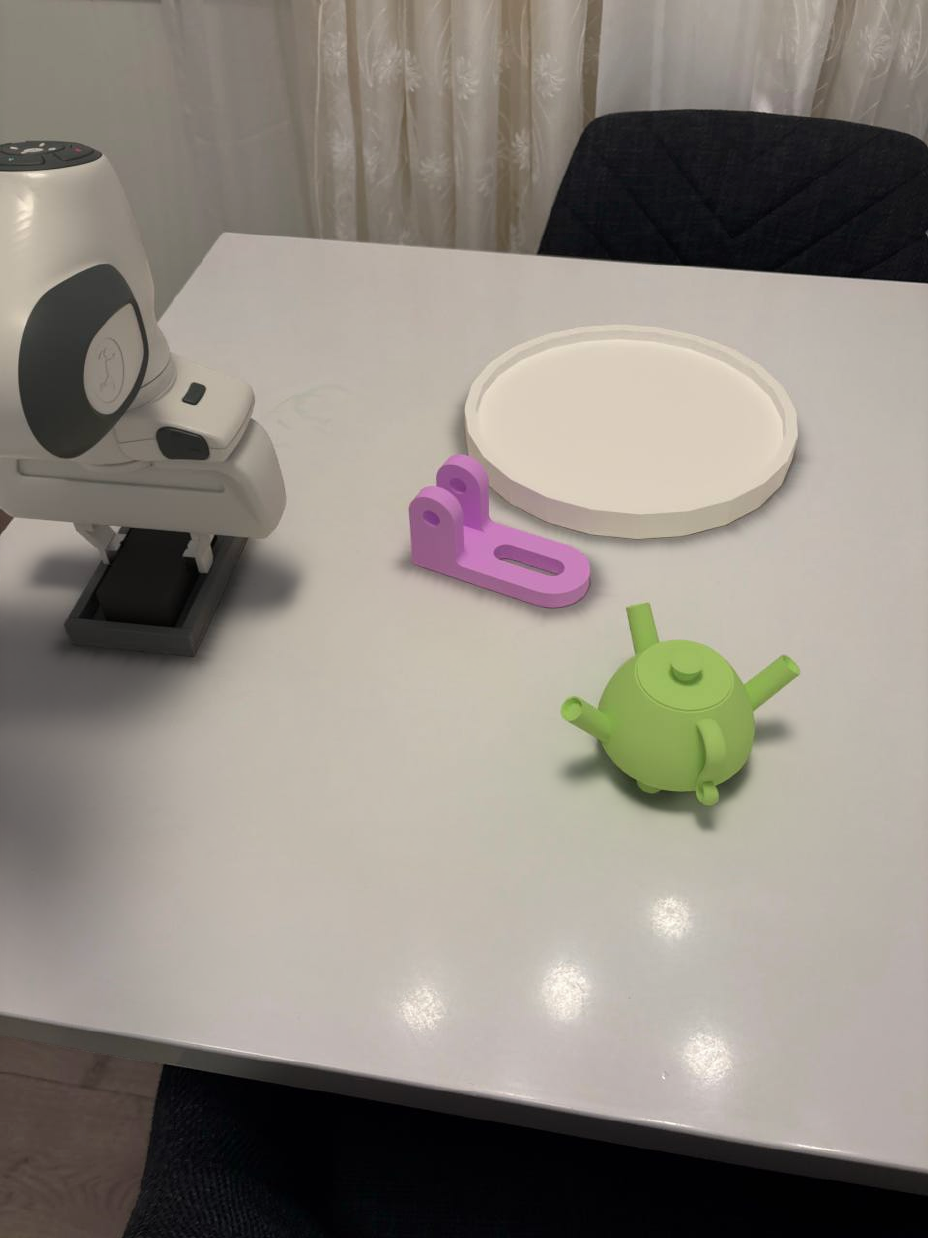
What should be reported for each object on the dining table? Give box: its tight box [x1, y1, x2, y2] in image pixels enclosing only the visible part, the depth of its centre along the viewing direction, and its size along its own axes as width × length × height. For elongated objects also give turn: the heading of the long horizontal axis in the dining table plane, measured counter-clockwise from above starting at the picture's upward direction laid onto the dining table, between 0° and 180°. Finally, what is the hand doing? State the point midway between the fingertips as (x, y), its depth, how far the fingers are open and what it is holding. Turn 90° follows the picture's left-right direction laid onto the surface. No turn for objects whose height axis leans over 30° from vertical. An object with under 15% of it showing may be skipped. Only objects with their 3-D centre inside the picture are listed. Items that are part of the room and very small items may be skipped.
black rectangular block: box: [96, 528, 217, 628], centre depth 77 cm, size 10×5×3 cm, turn 171°
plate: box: [463, 324, 799, 540], centre depth 89 cm, size 28×28×2 cm
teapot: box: [560, 602, 801, 806], centre depth 63 cm, size 11×12×8 cm
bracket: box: [408, 453, 591, 609], centre depth 76 cm, size 13×6×7 cm, turn 63°
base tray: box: [63, 527, 249, 658], centre depth 77 cm, size 14×9×2 cm
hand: (159, 563), depth 77 cm, fingers closed on black rectangular block, 5 cm apart
